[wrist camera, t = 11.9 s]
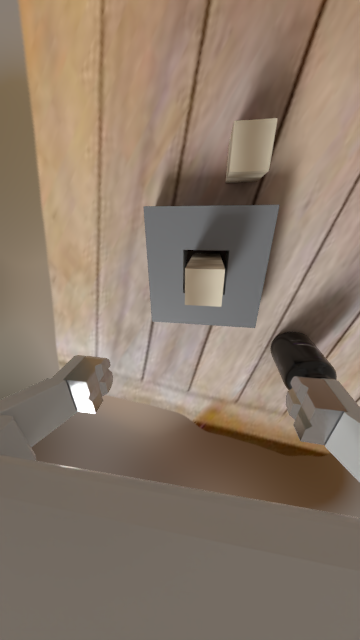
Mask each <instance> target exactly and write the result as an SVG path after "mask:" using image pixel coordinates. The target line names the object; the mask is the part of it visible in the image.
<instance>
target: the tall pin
mask: <svg viewBox="0 0 360 640" xmlns="http://www.w3.org/2000/svg"><path fill="white" fill-rule="evenodd" d="M224 276H225V268H224V265H223V261H222V258H221V255H220V253H194V254H193V255H192V257H191V259H190V261H189V263H188V264H187V266H186V268H185V305H196V306H216V307H221V305H222V296H223V286H224Z"/></svg>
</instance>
